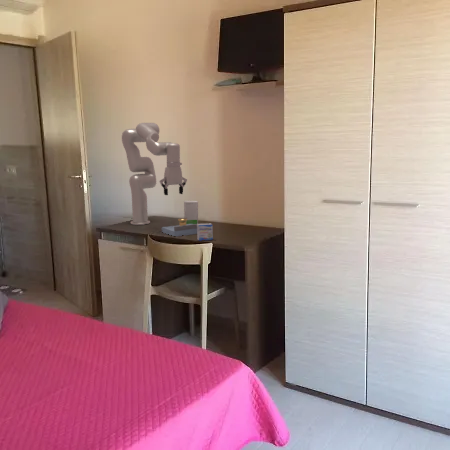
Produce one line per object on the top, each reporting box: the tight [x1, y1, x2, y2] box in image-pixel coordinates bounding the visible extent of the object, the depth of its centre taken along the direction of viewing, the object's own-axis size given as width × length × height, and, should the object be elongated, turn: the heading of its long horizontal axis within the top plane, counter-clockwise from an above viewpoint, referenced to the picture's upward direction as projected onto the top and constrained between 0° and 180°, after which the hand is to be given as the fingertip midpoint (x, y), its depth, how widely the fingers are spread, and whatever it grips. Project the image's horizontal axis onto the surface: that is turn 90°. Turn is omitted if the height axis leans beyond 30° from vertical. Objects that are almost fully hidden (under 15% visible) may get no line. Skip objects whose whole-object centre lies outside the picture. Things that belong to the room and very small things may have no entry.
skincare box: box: [183, 200, 199, 224], centre depth 321 cm, size 8×7×16 cm
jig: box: [161, 222, 204, 237], centre depth 301 cm, size 16×20×5 cm
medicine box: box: [196, 222, 214, 242], centre depth 280 cm, size 8×4×9 cm, turn 104°
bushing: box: [177, 217, 187, 226], centre depth 301 cm, size 5×5×8 cm
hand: (173, 194), depth 302 cm, fingers open, 9 cm apart
